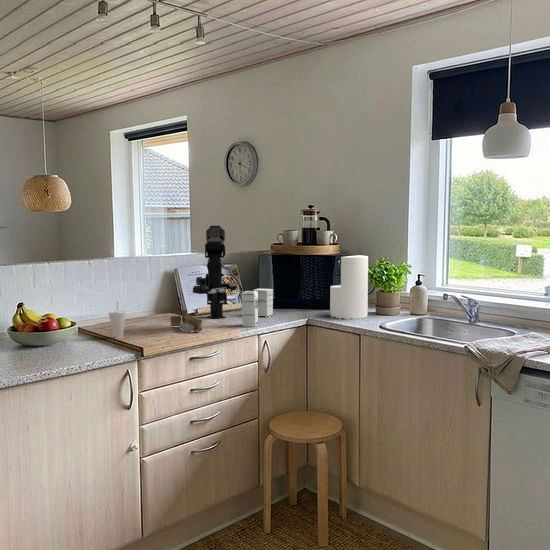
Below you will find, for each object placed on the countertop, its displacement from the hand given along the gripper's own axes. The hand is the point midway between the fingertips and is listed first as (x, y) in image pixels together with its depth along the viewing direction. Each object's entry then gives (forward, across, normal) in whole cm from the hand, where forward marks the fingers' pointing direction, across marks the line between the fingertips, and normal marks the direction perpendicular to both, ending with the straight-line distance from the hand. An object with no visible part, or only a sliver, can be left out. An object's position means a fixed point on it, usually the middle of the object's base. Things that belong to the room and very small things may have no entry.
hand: (215, 308), depth 233 cm
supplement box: (+8, -35, -9) cm, 37 cm away
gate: (+7, +10, -1) cm, 13 cm away
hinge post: (+8, +11, -11) cm, 17 cm away
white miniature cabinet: (+8, -13, +7) cm, 17 cm away
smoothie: (+8, +40, -8) cm, 41 cm away
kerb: (+8, +13, -2) cm, 15 cm away
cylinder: (+8, -63, +20) cm, 66 cm away
